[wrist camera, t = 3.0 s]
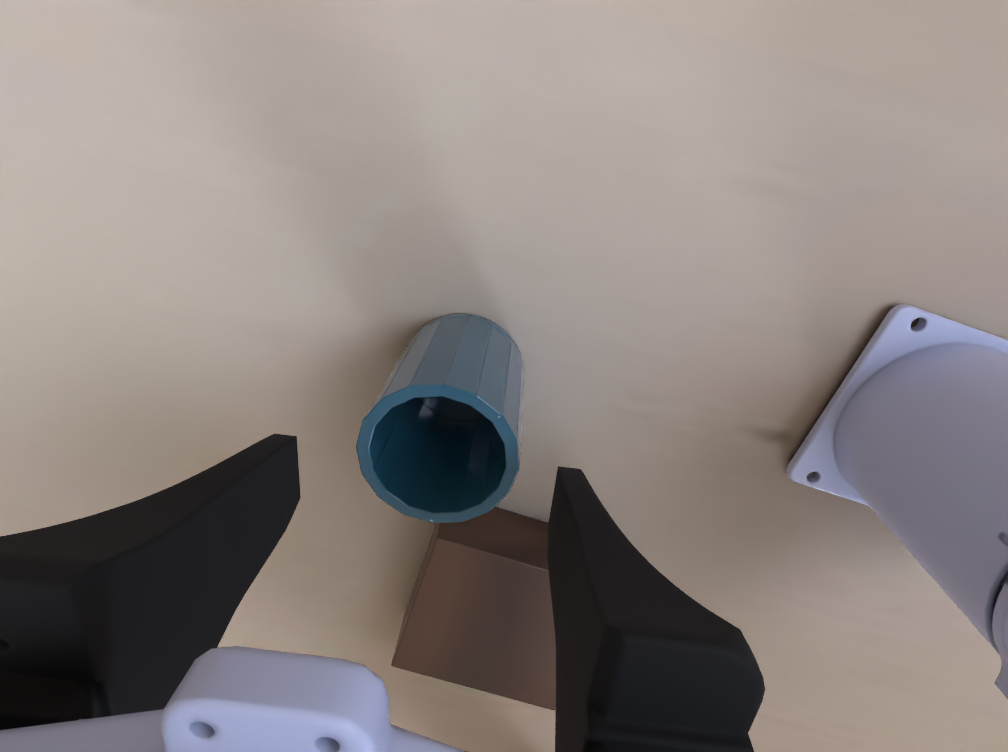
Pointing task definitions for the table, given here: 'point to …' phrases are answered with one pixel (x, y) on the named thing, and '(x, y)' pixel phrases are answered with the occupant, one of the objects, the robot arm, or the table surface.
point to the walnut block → (484, 609)
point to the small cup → (447, 422)
